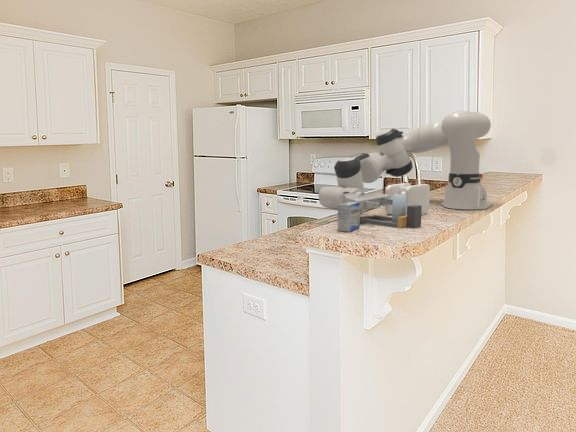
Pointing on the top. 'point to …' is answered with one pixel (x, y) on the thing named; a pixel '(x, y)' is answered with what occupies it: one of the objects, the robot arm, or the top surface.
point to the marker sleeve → (398, 207)
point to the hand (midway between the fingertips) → (387, 203)
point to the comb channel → (399, 218)
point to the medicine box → (348, 216)
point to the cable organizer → (410, 195)
